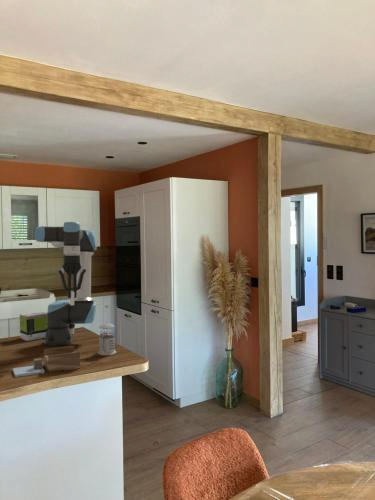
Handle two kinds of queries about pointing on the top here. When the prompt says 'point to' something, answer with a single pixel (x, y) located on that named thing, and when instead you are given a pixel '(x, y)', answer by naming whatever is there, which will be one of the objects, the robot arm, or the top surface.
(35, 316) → the tea box
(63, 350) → the lid box
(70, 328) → the coffee cup
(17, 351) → the top surface
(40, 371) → the grey l-shaped block
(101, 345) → the french press
